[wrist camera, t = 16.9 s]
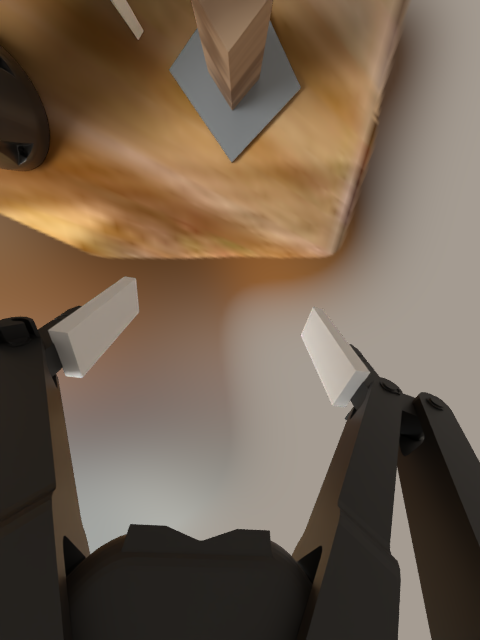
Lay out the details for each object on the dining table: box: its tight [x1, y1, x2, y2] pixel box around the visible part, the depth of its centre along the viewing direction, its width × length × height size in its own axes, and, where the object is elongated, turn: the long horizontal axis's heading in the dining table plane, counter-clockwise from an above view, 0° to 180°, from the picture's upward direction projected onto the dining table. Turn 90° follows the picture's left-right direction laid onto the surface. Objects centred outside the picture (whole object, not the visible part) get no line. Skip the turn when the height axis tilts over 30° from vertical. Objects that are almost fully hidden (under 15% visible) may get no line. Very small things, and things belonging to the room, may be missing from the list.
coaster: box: [169, 21, 301, 162], centre depth 28 cm, size 13×13×1 cm
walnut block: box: [191, 0, 273, 111], centre depth 22 cm, size 5×5×14 cm
